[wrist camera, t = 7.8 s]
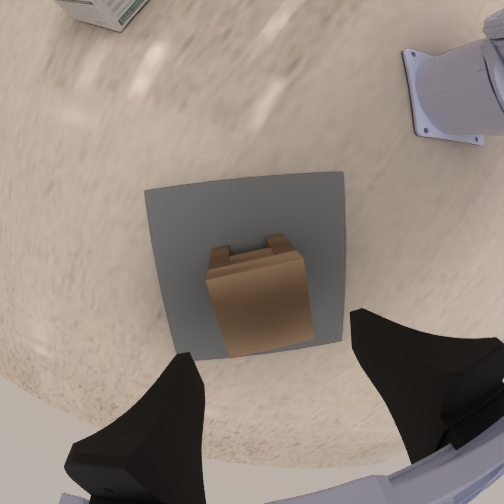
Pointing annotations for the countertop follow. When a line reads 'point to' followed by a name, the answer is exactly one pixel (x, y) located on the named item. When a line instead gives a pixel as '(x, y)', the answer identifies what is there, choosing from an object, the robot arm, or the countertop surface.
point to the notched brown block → (260, 297)
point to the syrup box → (102, 11)
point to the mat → (247, 248)
